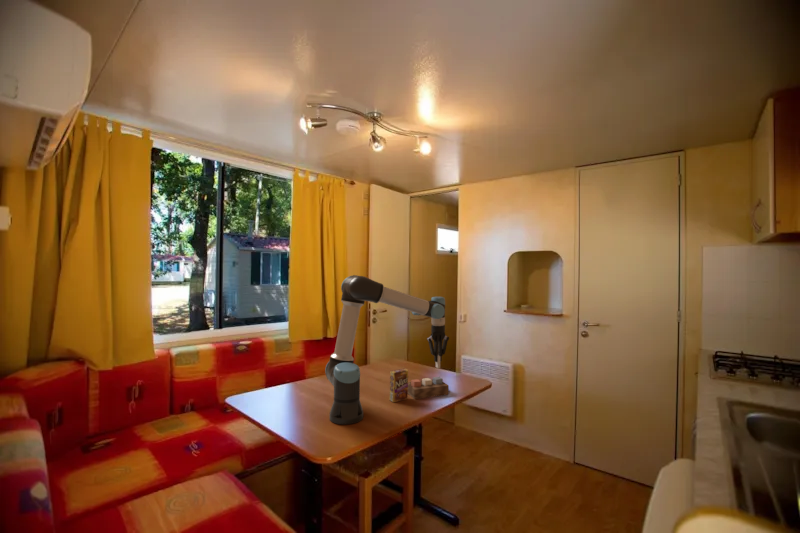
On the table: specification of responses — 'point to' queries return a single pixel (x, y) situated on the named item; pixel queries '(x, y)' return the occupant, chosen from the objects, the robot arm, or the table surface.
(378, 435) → the table surface
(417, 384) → the brick key
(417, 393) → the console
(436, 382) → the slate key
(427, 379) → the ivory key
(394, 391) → the candy box
